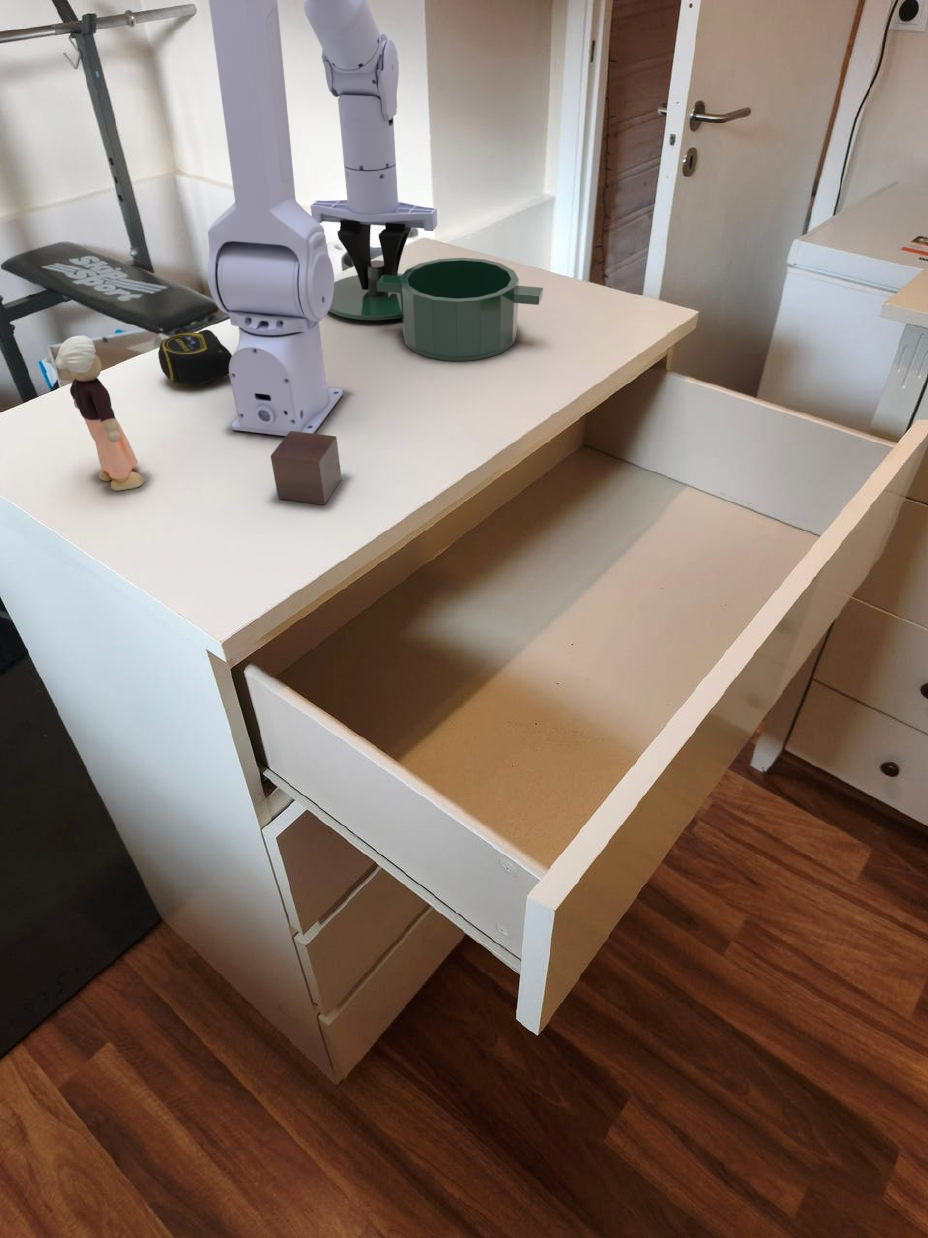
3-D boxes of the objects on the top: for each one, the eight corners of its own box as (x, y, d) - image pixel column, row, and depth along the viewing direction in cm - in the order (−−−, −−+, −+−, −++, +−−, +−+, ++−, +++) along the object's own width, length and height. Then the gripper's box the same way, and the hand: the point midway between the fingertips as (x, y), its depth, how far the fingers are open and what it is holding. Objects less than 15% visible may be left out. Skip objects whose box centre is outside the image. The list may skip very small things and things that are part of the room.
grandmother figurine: (164, 480, 74) (124, 340, 66) (127, 500, 72) (80, 358, 63) (111, 453, 78) (67, 316, 69) (74, 471, 75) (23, 332, 67)
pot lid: (419, 329, 97) (417, 289, 94) (305, 320, 100) (299, 280, 97) (447, 285, 107) (446, 247, 104) (343, 277, 110) (339, 240, 107)
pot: (528, 368, 90) (530, 307, 85) (366, 352, 93) (360, 293, 89) (547, 321, 99) (551, 264, 94) (399, 308, 102) (396, 252, 98)
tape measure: (239, 382, 88) (233, 347, 85) (173, 397, 85) (164, 362, 83) (221, 357, 92) (214, 323, 90) (157, 370, 90) (148, 336, 87)
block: (324, 505, 71) (318, 461, 68) (277, 498, 72) (269, 455, 69) (341, 478, 74) (336, 435, 71) (296, 472, 75) (289, 430, 72)
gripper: (442, 157, 95) (445, 280, 104) (321, 151, 98) (334, 271, 107) (425, 175, 90) (430, 302, 99) (298, 167, 93) (313, 292, 102)
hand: (379, 287), depth 103 cm, fingers closed on pot lid, 2 cm apart
